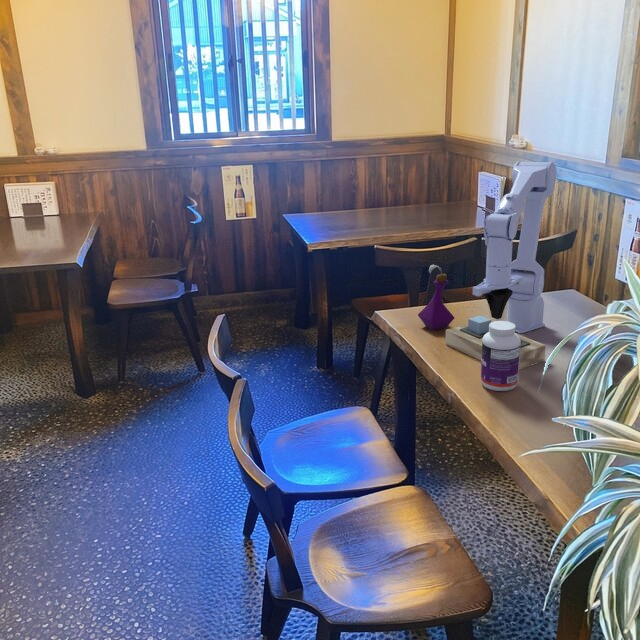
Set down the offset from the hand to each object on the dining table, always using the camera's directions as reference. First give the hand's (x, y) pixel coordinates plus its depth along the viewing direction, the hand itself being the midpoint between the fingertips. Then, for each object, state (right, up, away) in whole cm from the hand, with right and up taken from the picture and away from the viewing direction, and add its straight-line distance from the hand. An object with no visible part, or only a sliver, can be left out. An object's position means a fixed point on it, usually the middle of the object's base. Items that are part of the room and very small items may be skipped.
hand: (496, 317), depth 152 cm
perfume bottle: (-11, -3, +22) cm, 24 cm away
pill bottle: (-3, -15, -13) cm, 21 cm away
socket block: (0, -9, +4) cm, 9 cm away
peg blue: (-2, -5, +7) cm, 9 cm away
